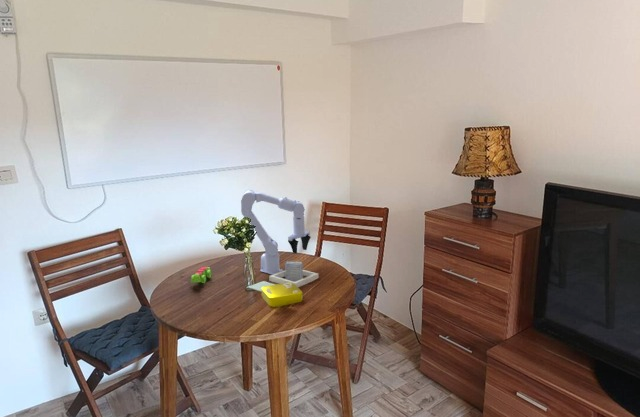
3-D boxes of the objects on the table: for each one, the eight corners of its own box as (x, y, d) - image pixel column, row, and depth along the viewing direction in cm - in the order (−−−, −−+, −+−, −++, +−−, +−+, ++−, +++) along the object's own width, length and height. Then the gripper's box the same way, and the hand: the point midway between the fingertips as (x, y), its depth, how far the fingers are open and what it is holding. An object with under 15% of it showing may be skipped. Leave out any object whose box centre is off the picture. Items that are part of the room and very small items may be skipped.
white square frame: (269, 280, 211) (269, 276, 210) (293, 271, 223) (292, 267, 223) (295, 288, 200) (295, 283, 200) (318, 278, 213) (318, 273, 212)
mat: (247, 287, 202) (247, 286, 202) (263, 281, 210) (263, 280, 210) (262, 292, 196) (262, 291, 196) (278, 286, 203) (278, 285, 203)
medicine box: (303, 278, 213) (302, 261, 211) (300, 281, 209) (300, 264, 207) (287, 277, 215) (287, 261, 213) (285, 280, 210) (284, 263, 209)
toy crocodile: (201, 273, 224) (201, 261, 223) (214, 273, 223) (213, 262, 222) (187, 287, 204) (187, 274, 203) (201, 287, 204) (200, 274, 203)
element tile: (260, 295, 193) (260, 285, 192) (292, 290, 199) (291, 280, 198) (270, 308, 180) (270, 297, 179) (304, 302, 185) (303, 291, 184)
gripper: (295, 229, 213) (296, 255, 215) (314, 223, 224) (314, 249, 226) (284, 227, 217) (285, 253, 220) (303, 222, 228) (304, 247, 231)
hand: (299, 251), depth 223 cm, fingers open, 7 cm apart
